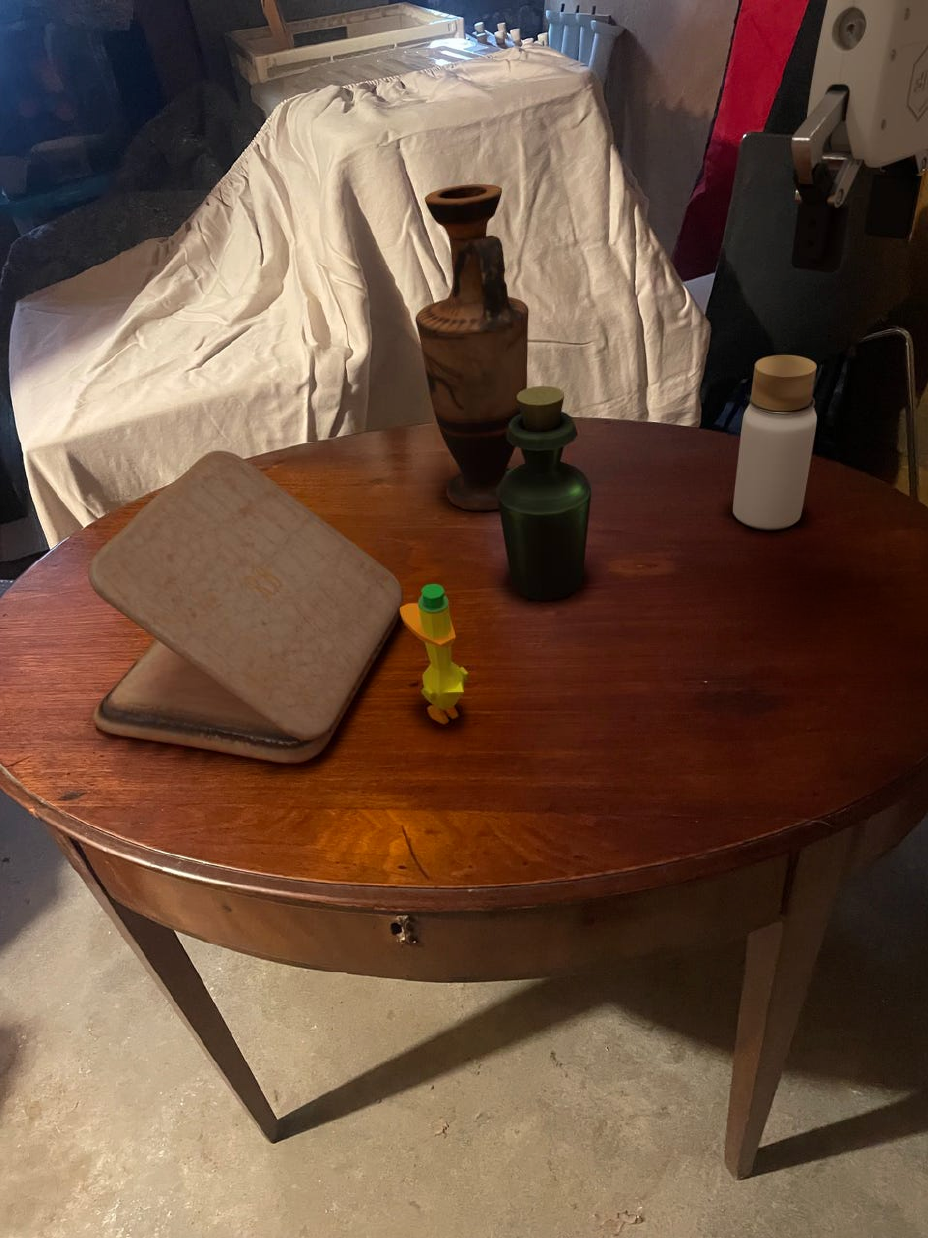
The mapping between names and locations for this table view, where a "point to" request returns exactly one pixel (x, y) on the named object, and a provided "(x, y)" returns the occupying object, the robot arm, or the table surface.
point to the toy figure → (436, 651)
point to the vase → (474, 347)
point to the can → (773, 466)
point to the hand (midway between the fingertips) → (852, 251)
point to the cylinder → (783, 382)
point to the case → (240, 616)
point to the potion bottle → (544, 500)
